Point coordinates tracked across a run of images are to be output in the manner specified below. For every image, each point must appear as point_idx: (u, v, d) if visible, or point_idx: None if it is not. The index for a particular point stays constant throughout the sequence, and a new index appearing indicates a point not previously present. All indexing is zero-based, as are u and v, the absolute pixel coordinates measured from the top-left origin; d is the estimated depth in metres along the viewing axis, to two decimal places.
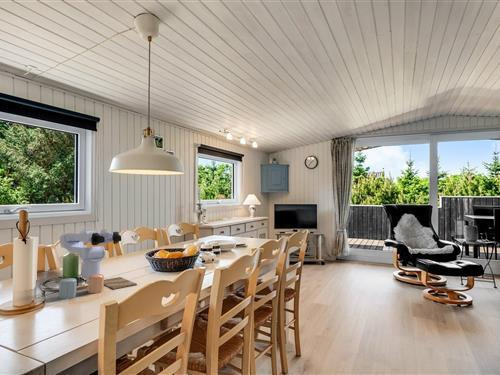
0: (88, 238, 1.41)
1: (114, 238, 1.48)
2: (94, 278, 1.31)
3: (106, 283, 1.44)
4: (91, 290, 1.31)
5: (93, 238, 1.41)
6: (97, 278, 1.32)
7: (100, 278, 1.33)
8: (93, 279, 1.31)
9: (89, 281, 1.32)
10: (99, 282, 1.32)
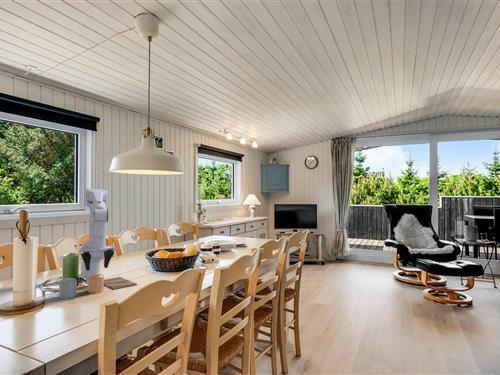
0: (80, 252, 1.29)
1: (106, 254, 1.37)
2: (94, 278, 1.31)
3: (106, 283, 1.44)
4: (91, 290, 1.31)
5: None
6: (97, 278, 1.32)
7: (100, 278, 1.33)
8: (93, 279, 1.31)
9: (89, 281, 1.32)
10: (99, 282, 1.32)
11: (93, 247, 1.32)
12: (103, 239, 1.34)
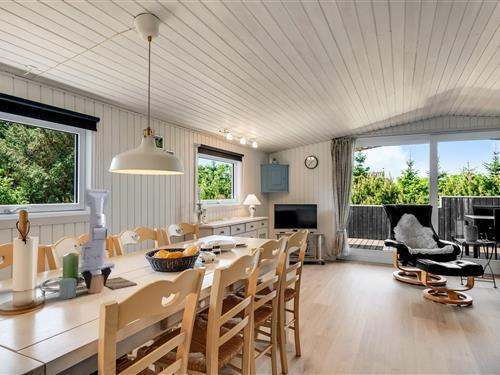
0: (79, 272, 1.29)
1: (103, 272, 1.37)
2: (94, 278, 1.31)
3: (106, 283, 1.44)
4: (91, 290, 1.31)
5: None
6: (97, 278, 1.32)
7: (100, 278, 1.33)
8: (93, 279, 1.31)
9: None
10: (99, 282, 1.32)
11: (92, 266, 1.32)
12: (102, 257, 1.33)
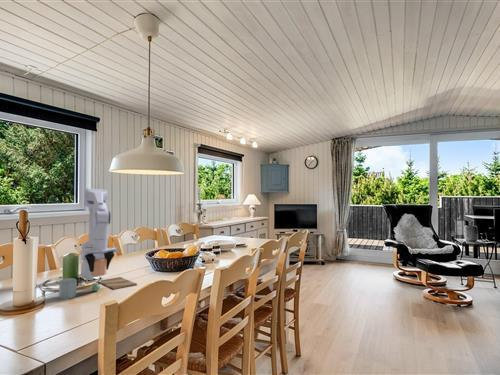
0: (82, 254, 1.30)
1: (106, 256, 1.38)
2: (97, 261, 1.33)
3: (106, 283, 1.44)
4: (94, 273, 1.33)
5: (88, 256, 1.32)
6: (100, 261, 1.33)
7: (103, 261, 1.34)
8: (96, 262, 1.33)
9: None
10: (102, 265, 1.34)
11: (95, 249, 1.33)
12: (105, 241, 1.35)
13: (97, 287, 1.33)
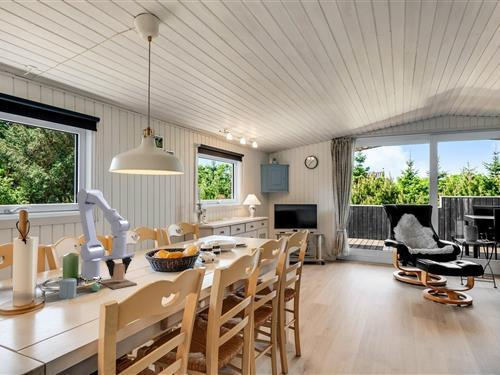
0: (103, 260, 1.41)
1: (124, 261, 1.49)
2: (117, 266, 1.44)
3: (106, 283, 1.44)
4: (114, 277, 1.44)
5: None
6: (119, 266, 1.44)
7: (122, 266, 1.45)
8: (116, 267, 1.44)
9: None
10: (121, 270, 1.45)
11: (114, 255, 1.44)
12: (123, 247, 1.46)
13: (97, 287, 1.33)
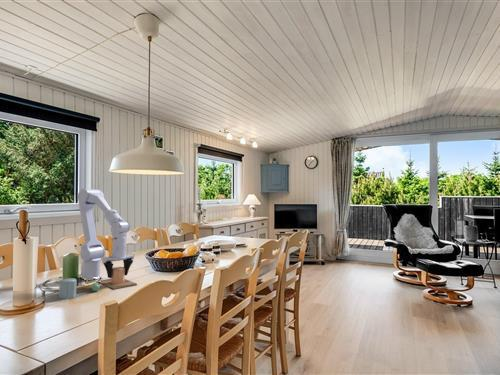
0: (103, 261, 1.41)
1: (125, 263, 1.50)
2: (116, 270, 1.44)
3: (106, 283, 1.44)
4: (114, 281, 1.43)
5: None
6: (119, 270, 1.44)
7: (122, 270, 1.45)
8: (115, 271, 1.44)
9: (112, 273, 1.44)
10: (121, 274, 1.45)
11: (114, 256, 1.44)
12: (123, 249, 1.46)
13: (97, 287, 1.33)
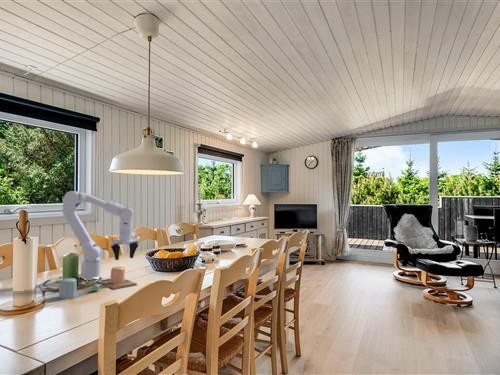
0: (111, 244, 1.52)
1: (131, 246, 1.60)
2: (116, 270, 1.44)
3: (106, 283, 1.44)
4: (114, 281, 1.43)
5: (114, 247, 1.53)
6: (119, 270, 1.44)
7: (122, 270, 1.45)
8: (115, 271, 1.44)
9: (112, 273, 1.44)
10: (121, 274, 1.45)
11: (121, 240, 1.55)
12: (129, 233, 1.56)
13: (97, 287, 1.33)
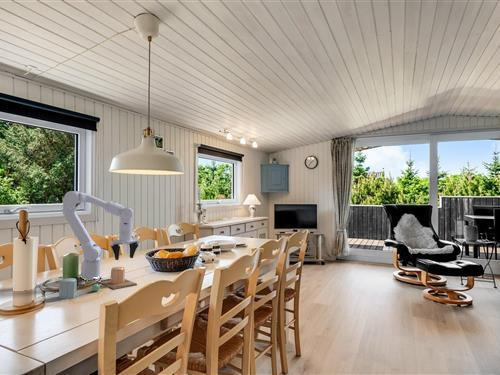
0: (111, 244, 1.52)
1: (131, 246, 1.60)
2: (116, 270, 1.44)
3: (106, 283, 1.44)
4: (114, 281, 1.43)
5: (114, 247, 1.53)
6: (119, 270, 1.44)
7: (122, 270, 1.45)
8: (115, 271, 1.44)
9: (112, 273, 1.44)
10: (121, 274, 1.45)
11: (121, 240, 1.55)
12: (129, 233, 1.56)
13: (97, 287, 1.33)
